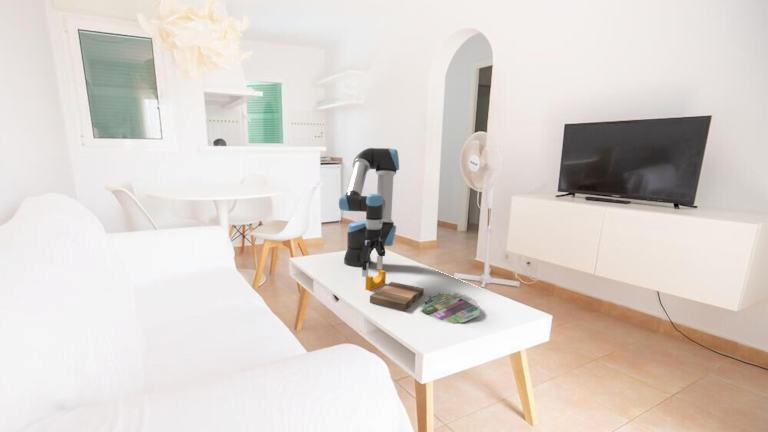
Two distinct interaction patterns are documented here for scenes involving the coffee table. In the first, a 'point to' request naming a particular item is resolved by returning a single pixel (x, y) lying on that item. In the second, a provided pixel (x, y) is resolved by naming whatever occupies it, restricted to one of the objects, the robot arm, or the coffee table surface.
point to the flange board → (397, 296)
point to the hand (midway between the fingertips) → (372, 272)
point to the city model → (451, 307)
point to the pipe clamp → (375, 280)
